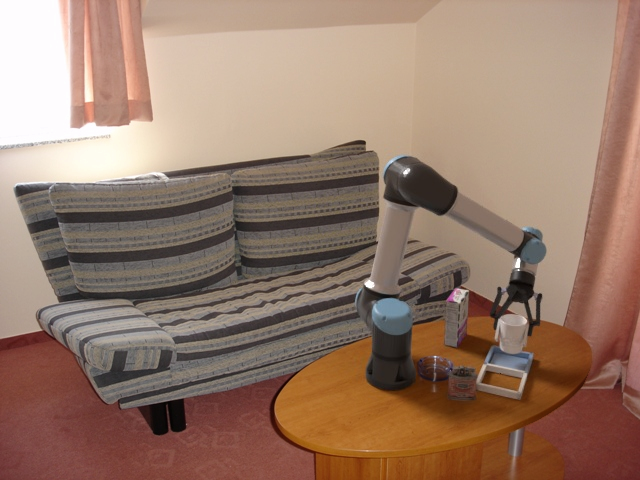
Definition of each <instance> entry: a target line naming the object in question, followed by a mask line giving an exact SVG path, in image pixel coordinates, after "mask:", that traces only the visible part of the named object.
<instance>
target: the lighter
mask: <svg viewBox="0 0 640 480" xmlns="http://www.w3.org/2000/svg"><path fill="white" fill-rule="evenodd" d="M476 372H477V371H476V367H475V366H464V365H463V364H462V365H459V366H455V365H454V366H453V368H452V371H449V372H448V374H447V375H448V382H447V383H448V385H447V388H448V389H447V393H446V397H447V398H448V399H450V400H451V401H452V400H453V401H461V402H473V401H474V402H475V401H476V398H477V396H476V392H477V390H476V382H477V378H478V375H479V374H477V373H476Z"/></svg>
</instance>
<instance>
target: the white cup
mask: <svg viewBox="0 0 640 480" xmlns="http://www.w3.org/2000/svg"><path fill="white" fill-rule="evenodd" d="M527 324H528V318H526V317H524V316H523V315H519V314H515V313H507V314H506V313H505V314H503V316H501V318H500V333H499V347H500V349H501V350H502V351H503V352H506V353H509V354H518V353H520V352H521V351H523V348H524V347H523V340H524V334H525V329H526V326H527Z"/></svg>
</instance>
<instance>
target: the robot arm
mask: <svg viewBox="0 0 640 480" xmlns="http://www.w3.org/2000/svg"><path fill="white" fill-rule="evenodd" d="M382 178H383V182H384V184H385V185H384V186H385V187H384V191H383V197H382V199H383V201H384V202H385V204H386V206H385V210H384V216H383V219H382V224H381V228H380V234H379V238H378V241H377V242H378V243H377V247H376V251H375V255H374V260H373V265H372V269H371V273H370V277H369V278H367V279H365V280H364V282H363V285H362V287H361V288H359V290H358V291H357V293H356V296H355V299H354V300H355V301H354V304H355V305H354V306H355V308H356V313H357V314H358V316H359V317H360V319H361V320H362V321H363V323H364V324H365V326H366V327H367V328H368V329H369V331H370V333H371V353H370V356H369V359H368V361H367V364H366V365H365V380H366V382H367V383H369V384H370V385H371V386H373V387H375V388H378V389H380V390H385V391H400V390H405V389H407V388H410V387H411V386H412V385H413V384H414V383H415V382H416V380H417V379H416V378H417V370H416V366H415V363H414V360H413V356H412V340H413V339H412V338H413V325H414V317H413V310H412V308H411V306H410V305H409V304H408V303H407V302H405V301H403V300H400V296H401V291H402V288H401V287H400V285H399V279H400V273H401V270H402V266H403V262H404V258H405V253H406V250H407V246H408V241H409V237H410V232H411V230H412V229H411V228H412V226H413V225H412V223H413V220H414V216H415V212H416V211H417V210H418V209H423V210H426V211H427V212H428V211H429V212H431V213H433V214H434V215H436V216H439V217H443V216H446V217H447V218H449V219H450V220H453V221H454V222H456V223H458V224H459V225H460V226H462V227H465V228H466V229H468V230H470V231H472V232H474V233H475V234H477V235H479V236H480V237H483V239H486V240H487V241H489V242H491V243H493V244H494V245H497V247H500V248H502V249H504V250H505V251H507V252H508V253H511V254H512V255H514V256H513V261H512V266H511V273H510V276H509V280H508V281H509V282H508V285H507V286H506V287H501V286H498V287H497V288H496V291H497V292H496V295H495V298H494V301H493V304H492V306H491V308H490V311H489V317H490V318H491V319H493V320H494V321H493V327H492V328H493V331H494V330H495V334H494V341H495V342H497V343H498V342H499V339H500V318H501V316H503V315H505V314H506V312H507V310H508V309H509V308H510V306H512V304H513V303H520V304H523V305H524V309H525V313H526V315H527V316H526V317H527V322H528V323H527V326H526V329H525V334H524V340H523V348H527V342H528V337H532V336H533V331H534V328H535V327H540V326H541V302H542V301H543V294H542V292H539V293H538V292H535V290H534V288H535V282H536V276H537V272H538V266H539V263H541V262H542V261H543V260H544V258H545V257H546V256H547V251H548V250H547V247H546V244H545V243H544V242H543V237H544V236H543V232H542V231H541V230H540V229H539V228H535V227H532V226H524V227H522V228H520V227H518V226H517V225H515V224H513V223H512V222H510V221H508V219H505V218H503V217H502V216H499V215H498V214H496V213H495V212H493V211H491V210H490V209H488V208H486V207H484V206H483V205H481V204H479V203H478V202H476V201H474V200H473V199H471V198H470V197H468V196H466V195H465V194H463V193H461V192H459V191H460V190H459V188H458V186H456V185H454V184H453V183H451V182H450V181H449V180H448V179H446V178H445V177H443V176H442V175H441V173H439V172H438V171H437V170H436V169H434V168H433V167H432V166H430V165H429V164H426V163H425V162H423V161H421V160H420V159H419V158H417V157H414V156H412V155H407V154H401V155H397V156H395V157H393V158H392V159H390V160H389V161H388V162H387V163H386V164H385V166H384V169H383V171H382ZM505 293H506V294H507V298H506V300H505V301H504V303H503V304H502V306H501V307H500V308H499V305H500V303H501V300H502V298H503V295H505ZM533 297H534V301H535V320H534V319H533V315H532V312H531V307H530V304H529V300H530V299H532V298H533ZM498 308H499V310H498Z"/></svg>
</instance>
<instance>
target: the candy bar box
mask: <svg viewBox="0 0 640 480" xmlns="http://www.w3.org/2000/svg"><path fill="white" fill-rule="evenodd" d="M469 295H470V290H468V289H463V288H457V287H455V288H454V289H453V291H452V292H451V294H450V295H449V296H448V297H447V299H446V300H445V320H444V342H443V344H444V346H445V347H452V348H459V347H460V345H461V343H462V342H463V340H464V338H465V337H466V335H467V334H468V330H467V329H468V314H469V298H470V296H469Z"/></svg>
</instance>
